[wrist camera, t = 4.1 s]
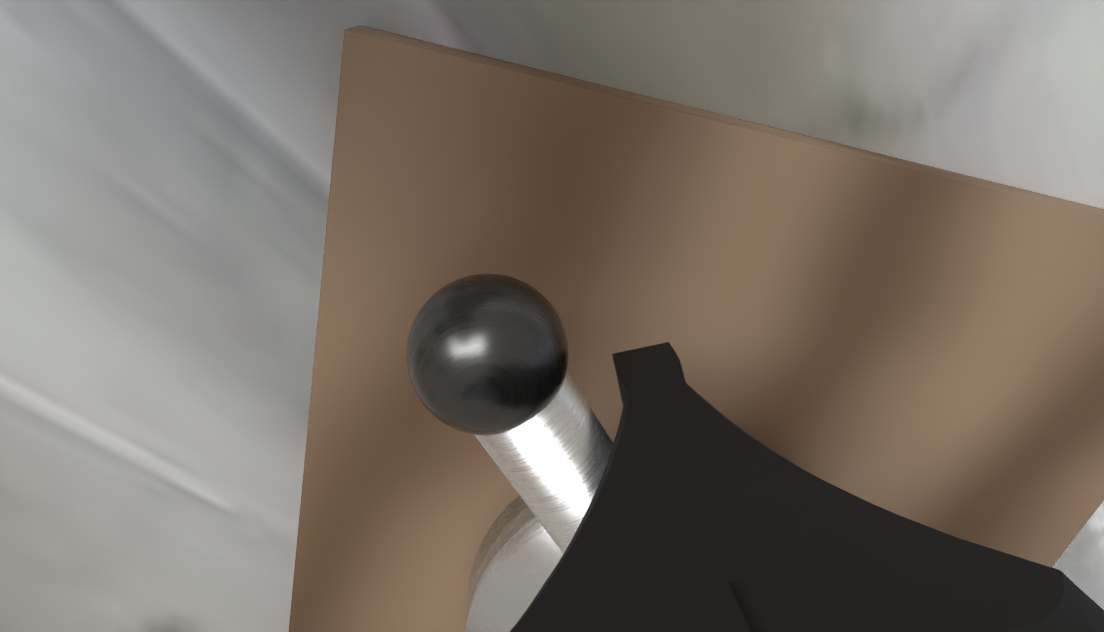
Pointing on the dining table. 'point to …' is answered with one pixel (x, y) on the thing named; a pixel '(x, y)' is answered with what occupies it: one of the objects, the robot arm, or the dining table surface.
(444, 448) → the stand
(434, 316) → the ball knob lever
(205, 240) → the dining table surface
